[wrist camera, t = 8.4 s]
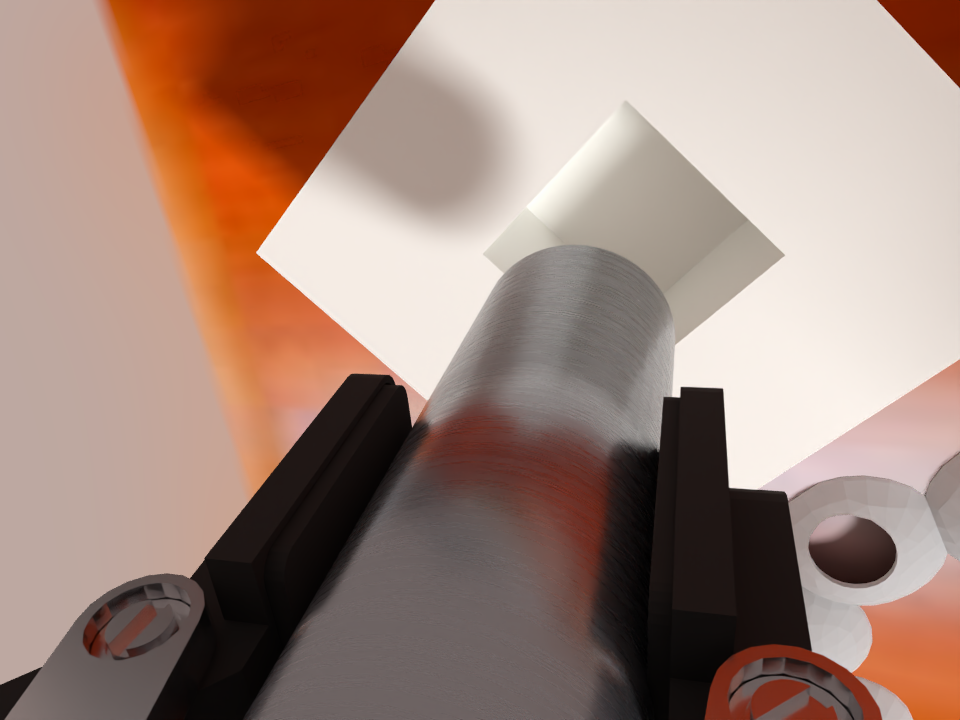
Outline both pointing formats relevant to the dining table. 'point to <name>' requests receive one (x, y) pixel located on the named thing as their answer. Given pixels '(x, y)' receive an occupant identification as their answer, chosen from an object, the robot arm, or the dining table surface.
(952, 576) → the dining table surface
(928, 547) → the round palette
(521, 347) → the pin
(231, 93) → the dining table surface
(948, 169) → the socket block
